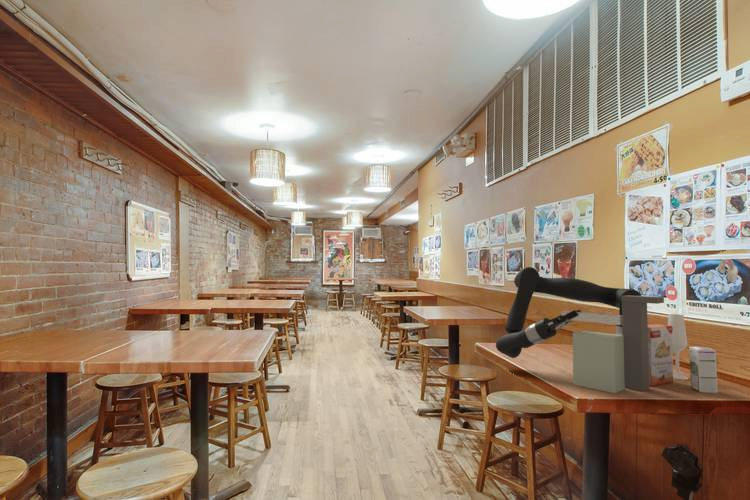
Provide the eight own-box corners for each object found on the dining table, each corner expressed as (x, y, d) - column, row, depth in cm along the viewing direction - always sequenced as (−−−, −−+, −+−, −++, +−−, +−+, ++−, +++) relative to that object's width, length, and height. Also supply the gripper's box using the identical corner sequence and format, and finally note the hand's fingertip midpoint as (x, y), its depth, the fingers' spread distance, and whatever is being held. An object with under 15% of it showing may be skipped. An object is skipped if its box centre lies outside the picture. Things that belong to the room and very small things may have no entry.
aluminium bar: (562, 319, 158) (561, 311, 158) (565, 318, 160) (565, 310, 160) (620, 325, 143) (619, 316, 143) (623, 324, 144) (623, 315, 145)
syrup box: (718, 393, 141) (717, 349, 142) (698, 392, 142) (697, 349, 143) (708, 388, 147) (707, 346, 148) (689, 387, 148) (688, 346, 149)
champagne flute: (662, 375, 166) (661, 313, 167) (678, 374, 166) (676, 313, 167) (676, 379, 159) (674, 315, 160) (693, 379, 160) (691, 315, 161)
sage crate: (573, 384, 151) (572, 332, 152) (583, 380, 156) (582, 330, 157) (615, 393, 141) (614, 337, 142) (624, 389, 146) (623, 335, 147)
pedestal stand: (623, 387, 148) (621, 296, 149) (630, 384, 152) (628, 295, 154) (659, 395, 139) (657, 297, 141) (666, 391, 144) (663, 296, 145)
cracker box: (652, 387, 149) (651, 327, 150) (635, 383, 154) (634, 325, 155) (675, 382, 155) (673, 325, 156) (657, 378, 161) (656, 323, 162)
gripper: (526, 323, 163) (564, 303, 152) (545, 321, 172) (582, 302, 161) (535, 342, 160) (575, 323, 149) (554, 338, 169) (592, 320, 158)
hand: (578, 312), depth 155 cm, fingers closed on aluminium bar, 3 cm apart
